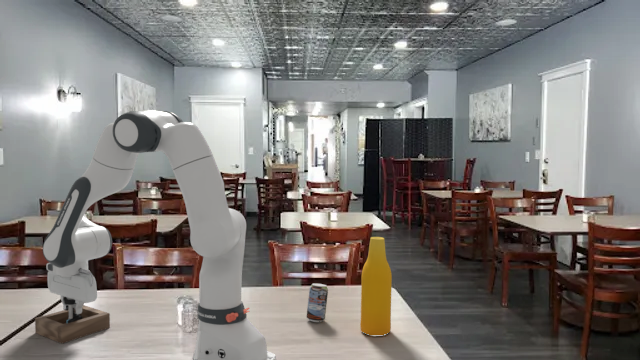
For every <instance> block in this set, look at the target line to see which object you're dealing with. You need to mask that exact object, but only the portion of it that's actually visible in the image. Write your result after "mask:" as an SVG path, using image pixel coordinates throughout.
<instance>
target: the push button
mask: <svg viewBox="0 0 640 360" xmlns="http://www.w3.org/2000/svg"><path fill="white" fill-rule="evenodd" d="M64 303H65V304H67V305H68V306H69V315H68V320H67V321H66V324H68V323H71V322H74V321H78V320H81V319H82V316H80V314H75V313H74V308H75V307H76V304H77V303H75V300H74V299H70V298H67V297H64Z"/></svg>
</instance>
